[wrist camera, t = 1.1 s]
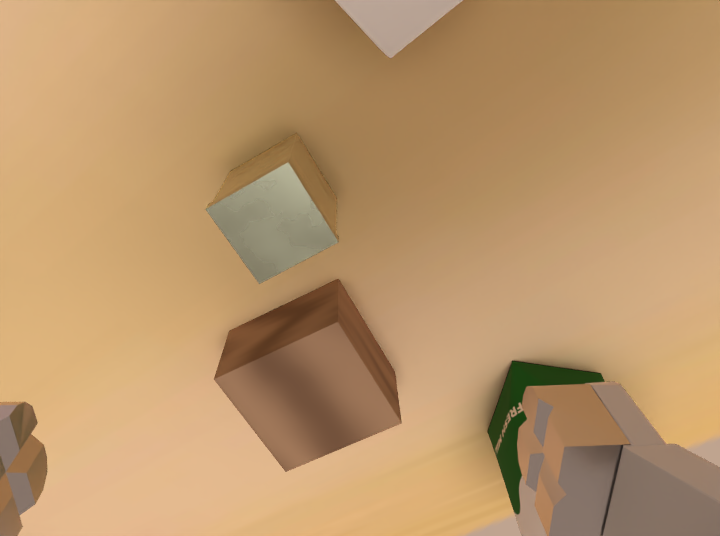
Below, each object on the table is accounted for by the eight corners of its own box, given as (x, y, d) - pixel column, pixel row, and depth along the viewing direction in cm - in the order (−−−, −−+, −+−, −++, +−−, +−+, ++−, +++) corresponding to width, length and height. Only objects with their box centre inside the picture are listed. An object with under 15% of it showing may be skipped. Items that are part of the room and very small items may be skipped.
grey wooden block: (297, 130, 38) (288, 162, 31) (339, 199, 40) (338, 242, 33) (227, 170, 39) (205, 209, 32) (272, 235, 41) (259, 284, 34)
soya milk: (577, 451, 50) (710, 721, 32) (471, 438, 49) (546, 707, 31) (616, 364, 46) (791, 613, 28) (502, 347, 45) (607, 595, 27)
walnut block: (338, 277, 43) (337, 321, 37) (394, 370, 46) (401, 423, 41) (229, 329, 44) (214, 379, 39) (292, 415, 48) (285, 471, 42)
